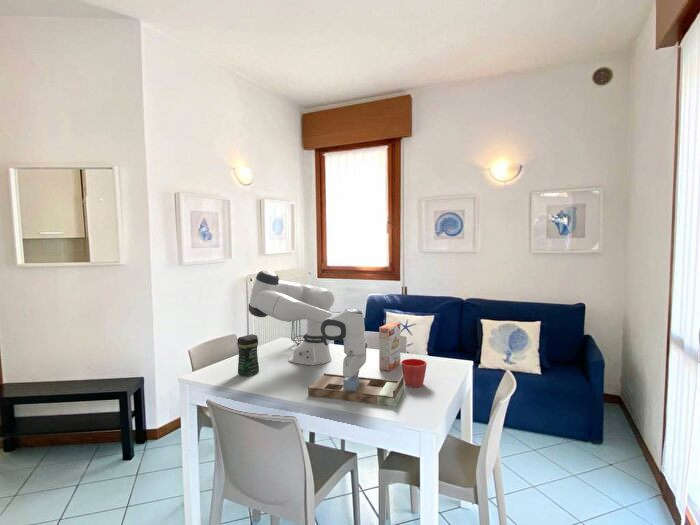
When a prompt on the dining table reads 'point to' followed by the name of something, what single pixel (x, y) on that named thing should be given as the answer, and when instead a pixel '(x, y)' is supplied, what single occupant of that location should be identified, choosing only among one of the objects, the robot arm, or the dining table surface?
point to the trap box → (359, 390)
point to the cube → (351, 383)
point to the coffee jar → (248, 355)
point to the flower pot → (413, 372)
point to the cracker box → (389, 346)
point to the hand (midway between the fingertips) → (355, 380)
